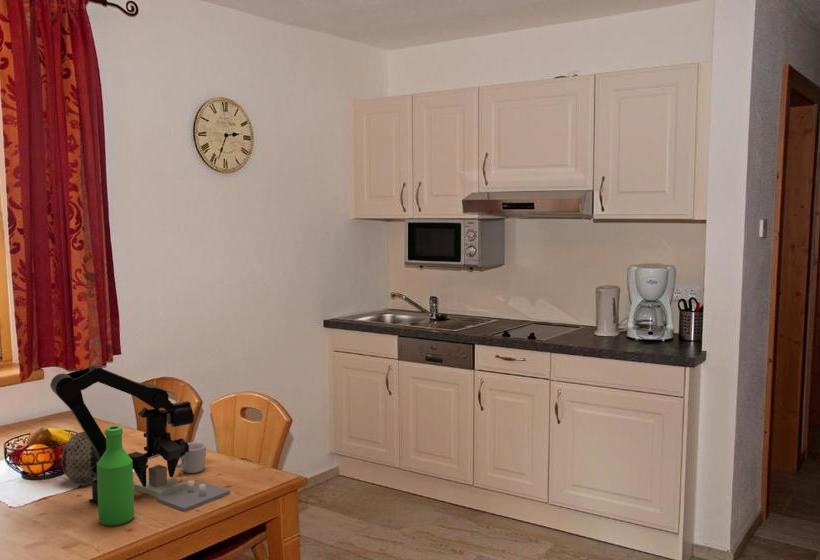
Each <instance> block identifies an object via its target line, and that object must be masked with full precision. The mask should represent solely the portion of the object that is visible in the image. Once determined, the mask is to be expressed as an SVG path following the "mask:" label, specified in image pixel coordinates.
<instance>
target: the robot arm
mask: <svg viewBox="0 0 820 560" xmlns="http://www.w3.org/2000/svg"><path fill="white" fill-rule="evenodd" d="M96 383H99V384H102V385H105V386H108V387H110V388H112V389H115V390H117V391H118V390H119V391H121V392H123V393H126V394H128V395H131V396H134V397H135V398H137V399H139V400H140V401H142V402H143V403H145V404H146V405H148V406H149V407H151V408H149V409H148V408H147V407H145V406H144V407H143V408H142V409H141V410H140V411H139V412H138V414H137V415H138V416H139V417H141V418H142V419H143V418H144V419H145V427H146V428H145V431H146V432H143V437H144V438H146V446H143V451H144V453H142V452H139V451H134V452H130V453H127V454H128V455H129V456H130V458H131V459H132V462H133V472H134V473H135V474H136V476H137V477H138V479H139V482H141V484H142V486H144V487H146V482H147V480H146V479H147V469H149V465H147V464H148V460H150V459H154V458H157V457H160V456H161V457H162V459H163V460H165V461H166V463H167V464H166V465H167V466H166V467H167V474H168V477H169V478H170V479H171V478H174V475H175V471H176V469H177V467H176V466H177V463H178V464H179V462H180V459H181V457H182V456H184V455H185V454H186V452H189V445H188V443H189V442H187V441H186V440H185V439H184V438H177V439H173V440H172V438H171V432H168V425H170V426H171V427H172V428H176V427H180V426H187V425H193V424H194V422H195V414H194V411H193V408H192V406H191V405H192V403H191V402H190V401H188V400H186V401H182V402H179V403H172V401H170V399H169V394H168V392H167V391H166V390H165V389H163V388H162V387H159V386H158V385H155V384H149V383H142V382H138V381H134V380H132V379H130V378H127V377H125V376H122V375H119V374H117V373H114V372H112V371H109V370H107V369H104V368H102V367H101V366H99V365H95V364H94V365H90V366H89V367H86V368H83V369H78V370H76V371H75V370H73V371H71V372H69V373H64V372H63V373H58V374H56V375H55V376H54V377H53V378H52V379H51V382H50V390H52V392H53V393H54V394H55V395H56V396H57V397H58V398H59V399H60V400H61V401H62V402H63V403H64V404H65V405H66V407H68V408H69V410H70V411H71V413H72V415H73V417H74V418H75V420H76V421H77V423H78V425H79V426H80V428H81V430H82V432H84V433H85V434H86V436H87V437H88V439H89V441H90V442H91V444H92V445H93V447H94V451H95V455H96V458H97V461H98V462H99V460H100V458H101V457H102V455H103V454H104V452H105V451H106V436H105V433H103V431H102V429H101V427H99V425H98V423H97V422H96V420H95V418H94V417H93V415H92V413H91V411H90V410H89V408H88V406H87V405H86V404H85V401H84V396H83V393H82V391H84V390H86V389H88V388H89V387H91V386H93V385H94V384H96ZM98 462H97V463H98ZM97 463H96V465H95V466H94V467H93V468H92V469H91V470H90V472H91V474H92V476H93V477H94V480H91V491H92V493H91V494H92V498H90V499H88V500H89V501H88V502H90V503H92V504H95V505H97V506H98V489H97Z"/></svg>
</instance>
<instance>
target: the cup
mask: <svg viewBox="0 0 820 560" xmlns="http://www.w3.org/2000/svg"><path fill="white" fill-rule="evenodd" d="M187 443H188V445H189V452H186V454H185V455H184V456H182V457H181V458H180V459H181V460H180V464H179V462H178V463H177V466H176V469H182V470H183V472H184V473H188V474H196V473H197V474H198V473H200V472H202V471H203V470H204V469H205V466H206V456H207V455H206V454H207V444H206V443H204V442H201V441H192V442H187Z"/></svg>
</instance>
